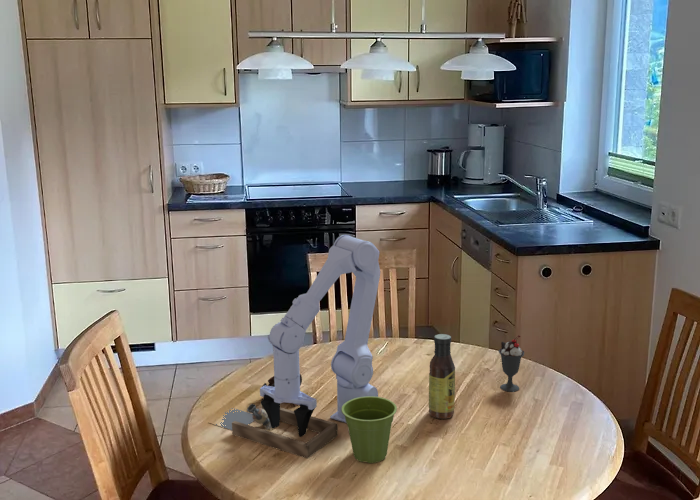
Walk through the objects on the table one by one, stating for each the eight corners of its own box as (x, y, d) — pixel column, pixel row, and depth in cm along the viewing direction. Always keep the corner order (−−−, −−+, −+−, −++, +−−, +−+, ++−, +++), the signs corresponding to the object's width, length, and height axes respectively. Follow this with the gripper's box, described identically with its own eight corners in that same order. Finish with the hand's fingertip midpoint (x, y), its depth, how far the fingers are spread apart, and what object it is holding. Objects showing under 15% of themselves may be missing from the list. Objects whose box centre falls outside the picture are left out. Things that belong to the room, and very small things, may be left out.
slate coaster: (261, 417, 177) (261, 416, 176) (236, 432, 169) (236, 431, 169) (232, 409, 181) (232, 407, 181) (207, 423, 174) (207, 422, 174)
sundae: (525, 393, 188) (528, 338, 184) (499, 393, 188) (501, 338, 184) (520, 382, 194) (522, 329, 191) (494, 382, 194) (496, 329, 191)
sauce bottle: (453, 421, 173) (455, 342, 168) (427, 419, 174) (428, 341, 170) (455, 409, 179) (457, 333, 175) (429, 407, 180) (430, 331, 176)
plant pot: (364, 437, 166) (364, 391, 163) (407, 453, 159) (407, 405, 156) (330, 457, 157) (330, 409, 154) (374, 476, 150) (374, 425, 147)
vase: (249, 433, 168) (248, 409, 167) (246, 425, 173) (245, 401, 172) (272, 430, 169) (271, 406, 168) (268, 422, 174) (267, 398, 173)
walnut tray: (337, 435, 167) (337, 423, 166) (307, 458, 157) (307, 445, 156) (264, 414, 178) (264, 403, 177) (232, 434, 168) (231, 422, 167)
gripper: (250, 374, 164) (252, 430, 167) (303, 388, 156) (304, 446, 159) (269, 364, 169) (271, 418, 173) (321, 377, 162) (322, 432, 165)
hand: (288, 430), depth 166 cm, fingers open, 7 cm apart
